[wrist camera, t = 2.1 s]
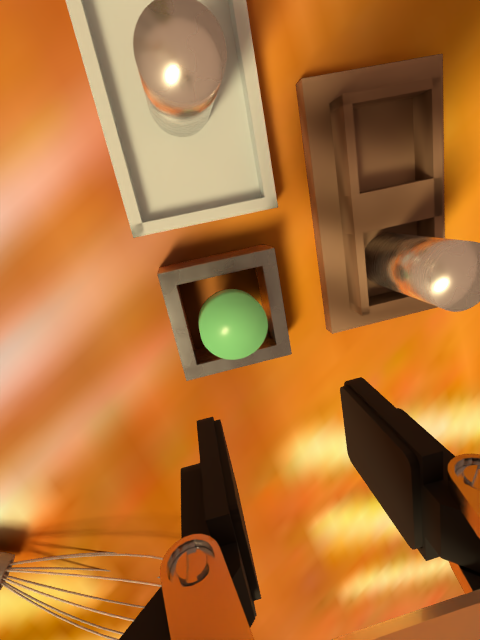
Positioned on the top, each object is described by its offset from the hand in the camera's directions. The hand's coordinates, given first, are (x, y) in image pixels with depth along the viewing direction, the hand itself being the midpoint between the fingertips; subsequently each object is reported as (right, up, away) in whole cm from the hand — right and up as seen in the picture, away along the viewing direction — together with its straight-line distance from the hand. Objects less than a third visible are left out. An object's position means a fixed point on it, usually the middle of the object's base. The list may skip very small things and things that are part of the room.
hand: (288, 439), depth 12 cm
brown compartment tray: (+9, +13, +16) cm, 22 cm away
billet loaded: (+10, +9, +16) cm, 21 cm away
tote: (-6, +18, +12) cm, 22 cm away
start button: (-3, +5, +15) cm, 16 cm away
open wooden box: (-3, +5, +16) cm, 17 cm away
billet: (-5, +18, +11) cm, 22 cm away
